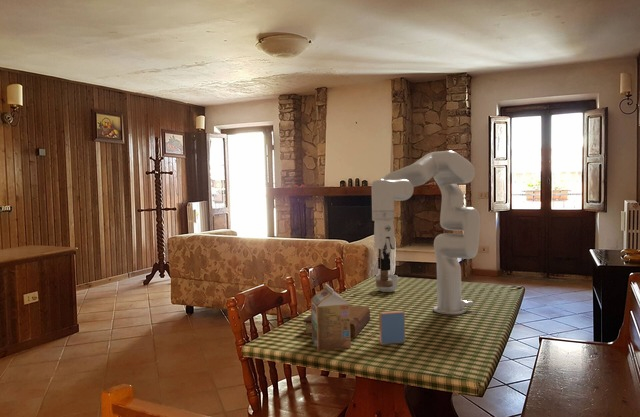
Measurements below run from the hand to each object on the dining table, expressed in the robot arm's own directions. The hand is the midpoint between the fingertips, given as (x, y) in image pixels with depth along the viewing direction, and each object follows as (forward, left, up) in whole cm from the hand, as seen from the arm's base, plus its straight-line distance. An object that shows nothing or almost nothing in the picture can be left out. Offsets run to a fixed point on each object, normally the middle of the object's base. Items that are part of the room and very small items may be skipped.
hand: (384, 269), depth 160 cm
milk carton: (+20, +5, -23) cm, 31 cm away
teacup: (-20, -65, -23) cm, 72 cm away
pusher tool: (0, 0, -6) cm, 6 cm away
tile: (0, +8, -23) cm, 24 cm away
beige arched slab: (+14, -13, -24) cm, 30 cm away
